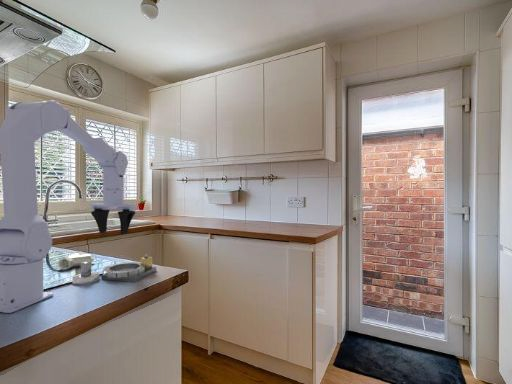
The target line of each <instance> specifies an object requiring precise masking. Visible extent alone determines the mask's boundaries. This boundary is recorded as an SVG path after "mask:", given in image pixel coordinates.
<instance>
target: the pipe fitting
mask: <svg viewBox="0 0 512 384" xmlns="http://www.w3.org/2000/svg"><path fill="white" fill-rule="evenodd" d="M86 261H91V263H93V262H94V261H95V257H93V256H92V255H91V254H90V253H89V254H86V253H85V252H83V251H81V250H80V251H78V252H75V253H74V254H71V255H68V256H65V257H63V258H60V259H58V264H57V266H58V268H60V270H62V271H63V270H64V271H66V270H67V269H71V268H74V267H81V263H82V262H86Z"/></svg>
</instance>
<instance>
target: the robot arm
mask: <svg viewBox="0 0 512 384" xmlns="http://www.w3.org/2000/svg"><path fill="white" fill-rule="evenodd" d="M53 132H60V133H62V134H63V135H65V136H66V137H68V138H69V139H72V140H73V141H74V142H76V143H78V144H80V145H81V146H82V150H83V152H84V153H85V154H87V156H90V157H91V158H92V159H94V160H96V162H97V163H98V165H99V168H101V169H102V202H101V203H98V202H95V203H94V202H93V203H91V205H90V207H91V208H90V209H91V211H90V213H91V216H93V219H94V220H95V222H96V225H97V229H98V231H99V234H105V233H107V231H108V229H107V228H108V217H109V214H110V211H117V215H118V217H119V223H120V235H126V234H128V231H129V227H130V225H131V222H132V220H133V217H134V216H135V214H136V211H137V204H136V203H124V202H125V201H124V198H125V196H124V193H125V192H124V189H125V188H124V187H125V186H124V182H125V181H124V180H125V177H124V176H125V175H126V170H127V167H128V166H129V165H128V164H129V160H128V159H127V155H126V154H125V153H123V152H122V151H121V150H116V149H115V148H114V147H113V146H112V145H110V144H109V143H108V142H106V141H105V140H104V138H103V137H102V136H99V135H93V136H92V135H91V134H90V133H89V132H88V131H86V130H85V129H84V128H83V127H82V126H81V125H80V124H79V123H78V122H77V121H76V120H74V118H72V117H71V113H70V110H69V109H67V108H66V107H64V106H63V105H62V104H61V103H60V102H58V101H57V100H45V101H33V102H21V101H20V102H16V103H14V104H12V105H9V106H8V107H6V108H5V118H4V120H3V122H2V124H1V125H0V166H1V184H2V185H1V186H2V200H3V201H2V202H3V213H4V214H3V217H2V218H1V219H0V313H5V314H6V313H7V314H11V313H14V312H17V311H19V310H22V309H24V308H27V307H28V306H30V305H33V304H35V303H38V302H41V301H43V300H46V299H48V298H49V297H53V296H54V295H55V293H54V292H47V291H44V259H46V256H47V255H48V254H49V252H50V251H51V249H52V246H53V238H52V236H51V233H50V232H49V229H48V222H47V221H45V219H44V218H43V217H41V215H39V212H38V211H39V210H38V193H37V191H38V190H37V189H38V188H37V171H36V170H37V169H36V168H37V167H36V152H35V150H36V148H35V143H36V142H37V141H38V140H40V139H41V138H42V137H44V135H47V134H48V133H53Z"/></svg>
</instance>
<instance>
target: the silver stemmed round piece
mask: <svg viewBox="0 0 512 384" xmlns="http://www.w3.org/2000/svg"><path fill="white" fill-rule="evenodd" d="M99 281H100V273H99V272H95V271H92V262H91V261H86V262H82V263H81V266H80V273H79V274H75V275H74V276H72V284H73V285H74V286H84V285H90V284H94V283H97V282H99Z"/></svg>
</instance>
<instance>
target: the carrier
mask: <svg viewBox="0 0 512 384" xmlns="http://www.w3.org/2000/svg"><path fill="white" fill-rule="evenodd" d="M155 272H157V266H153V257H152V256H149V254H144V255H143V256H142V257H140V259H139V261H126V262H124V261H123V262H119V263H113V264H110V265H107V266H105V267H104V268H103V269H102V274H101V280H106V281H115V282H116V281H117V282H118V281H119V282H129V283H136V282H138V281H140V280H142V279H143V278H146V277H148V276H149V275H152V274H153V273H155Z"/></svg>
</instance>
